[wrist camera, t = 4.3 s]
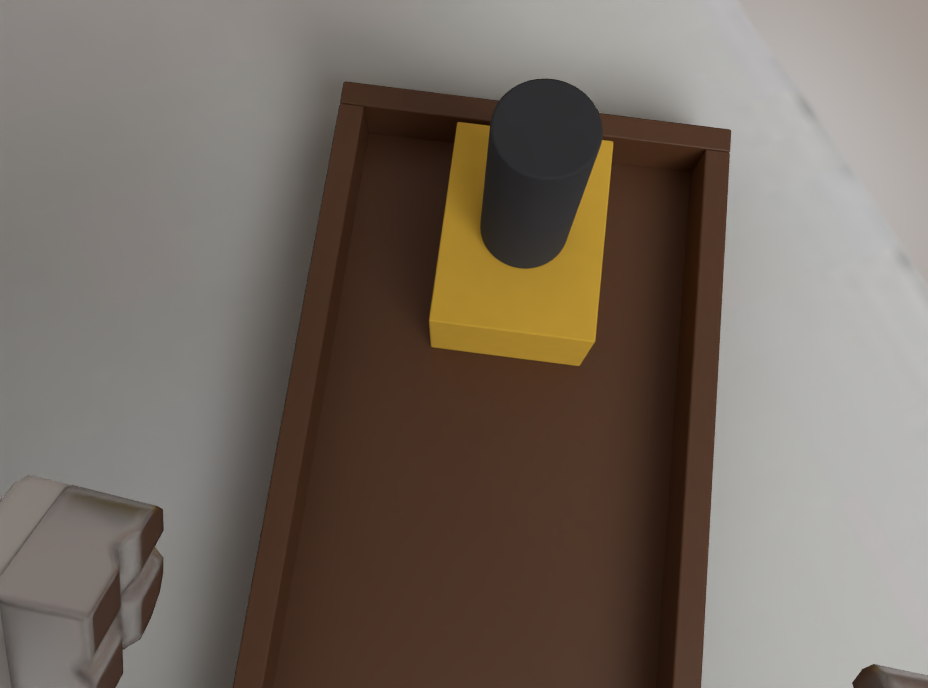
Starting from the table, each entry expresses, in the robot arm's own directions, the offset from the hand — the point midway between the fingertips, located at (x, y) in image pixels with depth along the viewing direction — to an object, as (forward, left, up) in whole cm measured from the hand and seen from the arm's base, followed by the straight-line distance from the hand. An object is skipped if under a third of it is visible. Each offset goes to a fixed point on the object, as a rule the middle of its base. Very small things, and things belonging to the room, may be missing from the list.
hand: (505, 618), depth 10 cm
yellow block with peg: (+9, -6, -17) cm, 20 cm away
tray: (+2, -2, -17) cm, 17 cm away
